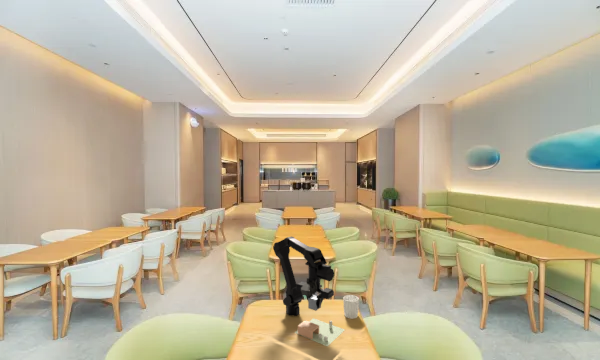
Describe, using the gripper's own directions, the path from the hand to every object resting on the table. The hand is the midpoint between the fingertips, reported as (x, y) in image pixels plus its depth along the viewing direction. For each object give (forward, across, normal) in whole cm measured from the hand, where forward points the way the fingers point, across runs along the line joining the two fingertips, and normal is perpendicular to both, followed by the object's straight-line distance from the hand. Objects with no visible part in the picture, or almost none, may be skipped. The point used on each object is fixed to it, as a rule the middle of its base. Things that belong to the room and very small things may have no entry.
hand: (314, 307), depth 144 cm
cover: (+9, +2, -8) cm, 12 cm away
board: (+10, +5, -3) cm, 11 cm away
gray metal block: (0, 0, 0) cm, 0 cm away
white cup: (+10, +10, +19) cm, 24 cm away
